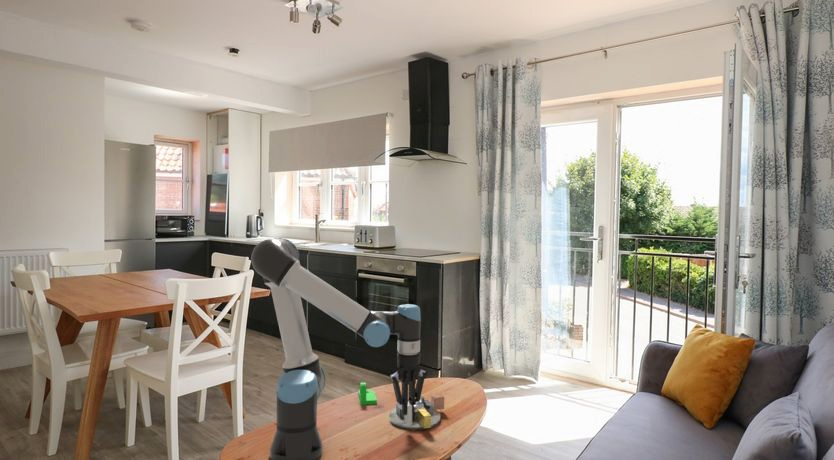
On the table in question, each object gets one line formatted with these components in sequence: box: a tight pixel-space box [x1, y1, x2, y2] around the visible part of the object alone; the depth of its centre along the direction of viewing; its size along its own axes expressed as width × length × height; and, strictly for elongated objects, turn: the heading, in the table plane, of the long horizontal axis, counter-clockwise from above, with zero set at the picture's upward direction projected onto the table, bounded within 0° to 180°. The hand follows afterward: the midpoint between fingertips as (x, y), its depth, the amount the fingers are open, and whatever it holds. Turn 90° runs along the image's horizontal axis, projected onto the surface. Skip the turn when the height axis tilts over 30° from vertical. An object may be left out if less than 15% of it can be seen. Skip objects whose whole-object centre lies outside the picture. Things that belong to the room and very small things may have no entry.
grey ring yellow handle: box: [395, 395, 434, 429], centre depth 168 cm, size 19×12×4 cm, turn 20°
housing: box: [388, 393, 445, 431], centre depth 171 cm, size 21×18×6 cm
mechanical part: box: [358, 381, 378, 406], centre depth 189 cm, size 12×6×8 cm, turn 11°
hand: (408, 423), depth 159 cm, fingers closed
